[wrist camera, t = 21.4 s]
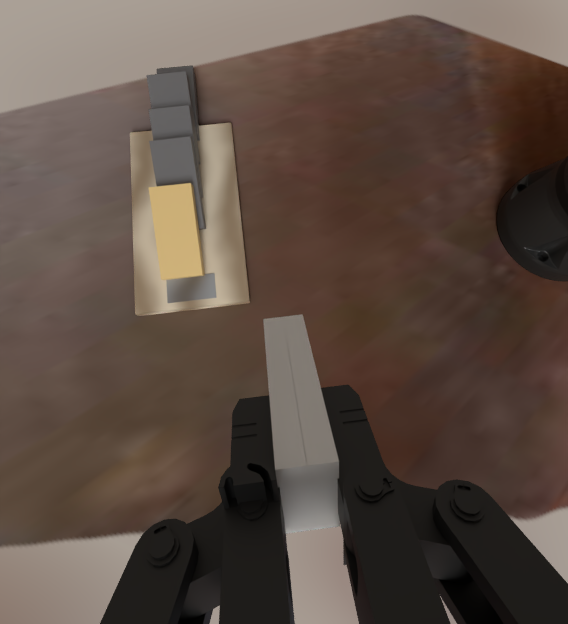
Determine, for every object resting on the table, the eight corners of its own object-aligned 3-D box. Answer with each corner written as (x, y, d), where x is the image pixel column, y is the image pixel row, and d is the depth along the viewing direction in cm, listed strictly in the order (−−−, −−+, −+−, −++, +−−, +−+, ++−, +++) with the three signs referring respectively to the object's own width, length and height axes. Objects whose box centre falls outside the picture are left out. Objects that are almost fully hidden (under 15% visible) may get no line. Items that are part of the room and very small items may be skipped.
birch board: (231, 127, 54) (230, 122, 52) (250, 303, 47) (249, 300, 46) (132, 137, 53) (129, 132, 52) (138, 316, 47) (135, 313, 46)
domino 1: (199, 140, 52) (195, 75, 54) (197, 132, 50) (192, 65, 53) (163, 144, 52) (160, 78, 54) (159, 135, 50) (156, 68, 53)
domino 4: (206, 229, 49) (192, 140, 47) (204, 227, 47) (190, 136, 46) (167, 233, 49) (153, 145, 47) (164, 232, 47) (149, 141, 46)
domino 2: (200, 164, 51) (188, 77, 49) (198, 160, 49) (186, 71, 48) (163, 168, 51) (150, 81, 49) (160, 164, 49) (146, 75, 48)
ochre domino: (204, 275, 47) (193, 186, 46) (202, 275, 46) (190, 182, 45) (164, 280, 47) (152, 191, 46) (161, 279, 45) (148, 187, 45)
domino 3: (203, 197, 50) (191, 110, 48) (201, 195, 48) (188, 105, 47) (165, 202, 50) (152, 114, 48) (162, 200, 48) (148, 109, 47)
